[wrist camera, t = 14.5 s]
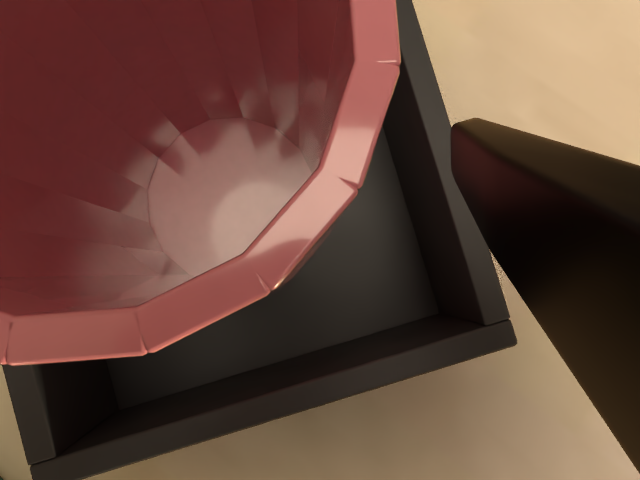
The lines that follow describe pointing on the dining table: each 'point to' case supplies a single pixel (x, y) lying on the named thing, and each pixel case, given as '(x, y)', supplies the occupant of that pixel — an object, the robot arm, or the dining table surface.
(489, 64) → the dining table surface
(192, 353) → the square open box
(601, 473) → the dining table surface
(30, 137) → the cup
